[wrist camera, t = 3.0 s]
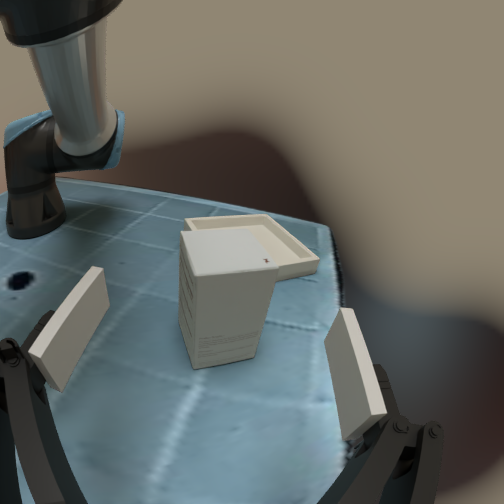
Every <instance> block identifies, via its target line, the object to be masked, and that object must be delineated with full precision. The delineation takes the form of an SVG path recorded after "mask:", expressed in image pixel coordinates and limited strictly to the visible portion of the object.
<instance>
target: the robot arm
mask: <svg viewBox="0 0 504 504" xmlns="http://www.w3.org/2000/svg"><path fill="white" fill-rule="evenodd" d="M122 1H123V0H0V21H1V23H2V25H3V29H4V31H5V35H6V37H7V39H8V41H9V42H10V43H11V44H12V45H14V46H17V47H22V48H27V49H28V52H29V56H30V59H31V62H32V64H33V67H34V70H35V73H36V75H37V78H38V81H39V83H40V86H41V88H42V91H43V93H44V95H45V98H46V101H47V103H48V105H49V107H50V110H47V111H43V112H40V113H37V114H33V115H30V116H27V117H24V118H21V119H19V120H16V121H14V122H12V123H10V124H9V125H8V126H7V127H6V129H5V134H4V146H3V148H4V158H5V171H6V181H7V188H8V202H7V212H6V227H7V231H8V234H9V235H10V236H11V237H14V238H19V239H25V238H32V237H37V236H40V235H43V234H45V233H48V232H50V231H52V230H54V229H55V228H57V227H58V226H60V225H61V224H62V223H63V222H64V220H65V218H66V211H65V205H64V203H63V200H62V198H61V195H60V193H59V190H58V188H57V185H56V181H55V173H60V172H70V171H82V170H96V169H99V170H104V169H108V168H114V167H115V166H117V165H118V163H119V160H120V156H121V147H122V142H123V135H124V125H125V114H124V112H123V111H118V110H115V109H114V107H113V106H112V105H111V104H110V103H109V102H108V101H107V98H106V68H105V54H106V53H105V52H106V26H107V17H108V16H109V15H110V14H112V13H113V12H114V11H115V10H116V9H117V8H118V7H119V5H120V4H121V3H122ZM109 307H110V304H109V299H108V293H107V288H106V282H105V276H104V270H103V268H99V267H94V266H92V267H91V268H90V269H89V270H88V272H87V273H86V274H85V275H84V276H83V278H82V279H81V280H80V281H79V282H78V284H77V285H76V286H75V287H74V289H73V290H72V291H71V292H70V294H69V295H68V296H67V298H66V299H65V300H64V301H63V303H62V304H61V305H60V307H59V308H58V309H57V311H56V312H55V311H52V310H50V311H49V312H47V313H46V314H44V315H43V316H42V318H41V319H40V320H39V322H38V324H36V326H35V327H34V330H32V331H31V333H30V334H29V336H28V337H27V339H26V340H25V341H24V343H23V344H22V346H21V347H19V346H18V344H17V342H16V341H15V340H14V339H12V338H5V339H3V340H1V341H0V504H22V499H21V494H20V489H19V482H18V476H17V467H16V457H15V445H16V449H17V453H18V456H19V460H20V463H21V466H22V469H23V472H24V475H25V478H26V481H27V484H28V487H29V489H30V492H31V494H32V497H33V499H34V501H35V504H88V503H87V501H86V499H85V497H84V495H83V494H82V492H81V490H80V487H79V485H78V483H77V481H76V479H75V477H74V475H73V472H72V470H71V468H70V465H69V463H68V460H67V458H66V455H65V453H64V450H63V447H62V445H61V442H60V439H59V436H58V433H57V430H56V427H55V424H54V420H53V417H52V413H51V410H50V406H49V402H48V398H47V394H46V389H45V387H44V384H45V382H47V383H48V384H49V386H50V387H51V388H53V389H55V390H57V391H59V392H61V393H62V392H63V390H64V388H65V386H66V384H67V382H68V380H69V378H70V376H71V374H72V372H73V370H74V368H75V366H76V364H77V363H78V361H79V359H80V357H81V355H82V353H83V351H84V350H85V348H86V346H87V344H88V342H89V341H90V339H91V337H92V335H93V334H94V332H95V330H96V328H97V327H98V325H99V323H100V322H101V320H102V318H103V316H104V315H105V313H106V312H107V310H108V308H109ZM324 344H325V349H326V353H327V358H328V363H329V368H330V373H331V378H332V383H333V388H334V394H335V399H336V405H337V410H338V416H339V422H340V428H341V434H342V441H344V440H355V439H358V438H359V437H360V436H361V435H363V438H364V440H363V441H362V442H360V443H359V444H358V445H357V446H356V447H355V448H354V449H357V448H358V449H357V450H356V452H355V453H354V455H353V456H352V458H351V459H350V461H349V462H348V464H347V465H346V466H345V468H344V469H343V471H342V472H341V473H340V475H339V476H338V478H337V479H336V480H335V482H334V483H333V484H332V486H331V487H330V488H329V489H328V491H327V492H326V493H325V494H324V496H323V497H322V498H321V499H320V500H319V502H318V503H317V504H374V502H375V501H376V499H377V498H378V496H379V494H380V493H381V491H382V489H383V487H384V489H383V492H382V496H381V499H380V502H379V504H434V500H435V496H436V491H437V486H438V479H439V473H440V467H441V459H442V450H443V439H444V431H443V428H442V426H441V425H440V424H439V423H438V422H436V421H430V422H428V423H426V424H425V425H424V426H422V425H416V424H411V423H410V422H409V421H408V419H407V418H405V417H404V416H401V415H400V413H399V410H398V407H397V404H396V401H395V398H394V395H393V391H392V389H391V385H390V383H389V379H388V377H387V374H386V372H385V370H384V369H383V368H382V366H381V365H380V364H374V365H373V364H372V362H371V359H370V356H369V353H368V350H367V348H366V344H365V341H364V339H363V336H362V333H361V330H360V327H359V325H358V322H357V320H356V317H355V314H354V311H353V309H349V308H340V309H339V312H338V314H337V316H336V318H335V320H334V322H333V324H332V326H331V328H330V330H329V332H328V334H327V336H326V338H325V340H324ZM14 441H15V442H14Z"/></svg>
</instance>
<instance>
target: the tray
mask: <svg viewBox="0 0 504 504" xmlns="http://www.w3.org/2000/svg"><path fill="white" fill-rule="evenodd" d="M224 229H248V230H249V231H250V232H251V233H252V234H253V235H254V237H255V238H256V239H257V240H258V241H259V243H260V244H261V245H262V246H263V248H264V249H265V250H266V251H267V252H268V254H269V255H270V256H271V257H272V259H273V260H274V261H275V263H276V264H277V265H278V267H279V272H278V275H277V279H276V281H281V280H286V279H291V278H296V277H301V276H306V275H310V274H315V272H316V270H317V267H318V264H319V261H320V258H318V257H317V256H316V255H315V254H314V253H313V252H311V251H310V250H309V249H308V248H307V247H305V246H304V245H303V244H302V243H301V242H300V241H298V240H297V239H296V238H295V237H294V236H292V235H291V234H290V233H289V232H288V231H286V230H285V229H284V228H283V227H282V226H280V225H279V224H278V223H277V222H276V221H274V220H273V219H272V218H271V217H269V216H268V215H267V214H257V215H236V216H218V217H202V218H187V219H184V231H200V230H224Z"/></svg>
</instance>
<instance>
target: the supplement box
mask: <svg viewBox="0 0 504 504" xmlns="http://www.w3.org/2000/svg"><path fill="white" fill-rule="evenodd" d="M278 272H279V267H278V265H277V264H276V263H275V261H274V260H273V259H272V257H271V256H270V255H269V254H268V252H267V251H266V250H265V249H264V248H263V246H262V245H261V244H260V243H259V241H258V240H257V239H256V238H255V237H254V235H253V234H252V233H251V232H250V231H249V230H248V229H224V230H200V231H181V232H180V251H179V307H178V318H179V325H180V328H181V331H182V335H183V338H184V341H185V345H186V348H187V351H188V354H189V357H190V361H191V364H192V367H193V369H199V368H205V367H210V366H216V365H221V364H226V363H231V362H236V361H240V360H245V359H249V358H254V356H255V353H256V349H257V346H258V343H259V339H260V336H261V332H262V329H263V325H264V322H265V318H266V315H267V311H268V308H269V304H270V301H271V297H272V293H273V290H274V286H275V282H276V279H277V275H278Z"/></svg>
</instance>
